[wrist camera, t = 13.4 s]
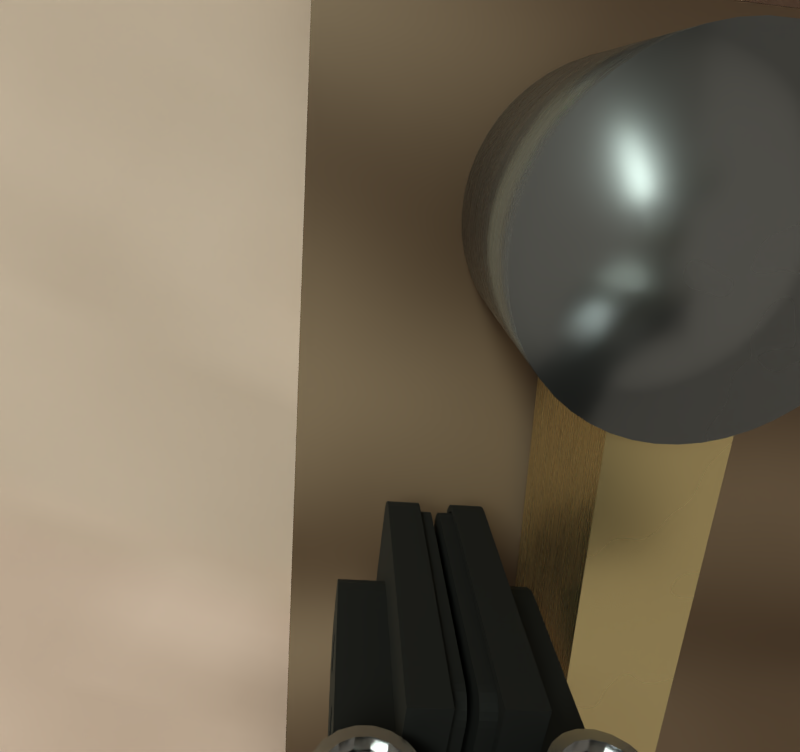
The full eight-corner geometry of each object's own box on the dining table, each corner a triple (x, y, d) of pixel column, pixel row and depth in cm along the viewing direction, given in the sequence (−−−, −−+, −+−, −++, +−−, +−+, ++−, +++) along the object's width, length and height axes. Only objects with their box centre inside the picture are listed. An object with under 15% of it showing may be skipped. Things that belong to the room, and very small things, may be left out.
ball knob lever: (470, 45, 8) (529, 8, 5) (786, 54, 8) (994, 22, 6) (434, 740, 13) (456, 905, 10) (634, 729, 14) (706, 886, 11)
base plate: (318, -29, 9) (301, -106, 6) (1296, 93, 11) (1684, 82, 8) (286, 849, 17) (270, 1017, 14) (861, 840, 19) (965, 987, 16)
